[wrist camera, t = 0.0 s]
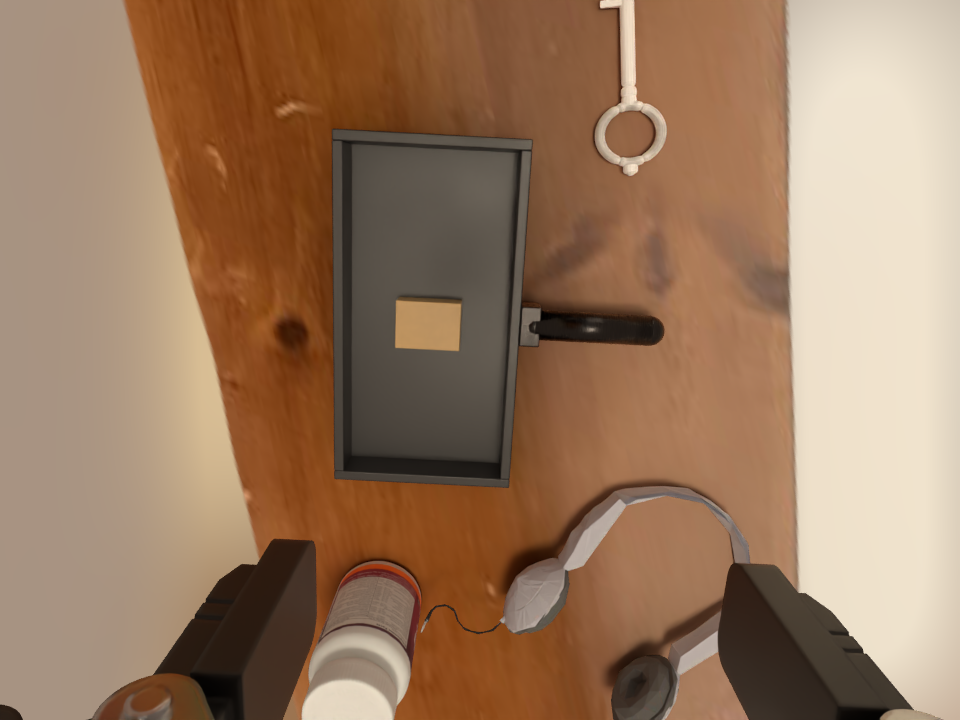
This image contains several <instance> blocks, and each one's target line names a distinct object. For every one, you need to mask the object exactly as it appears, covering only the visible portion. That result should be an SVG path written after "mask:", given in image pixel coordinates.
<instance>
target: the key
mask: <svg viewBox="0 0 960 720" xmlns="http://www.w3.org/2000/svg"><path fill="white" fill-rule="evenodd" d="M601 8H620V50H621V85H622V86H623V88H622V89H621V97H622V99H621V103H619V104H618V105H617V106H614V107H612V108H610V109H609V110H607V111H606V112H605V113H604V114H603V115H602V117H601V118H600V120H599V122H598V123H597V126H596V130H595V144H596V147H597V149H598V151H599V153H600V154H601V155H602V156H603V157H604V158H605V159H606V160H607V161H609V162H610V163H613V164H619V166H623V173H624V174H627V175H628V176H633V175H634V174H635V173H637V172H638V165H641V164H643V163H644V162H647V161H649V160H651V159H652V158H653V157H655V156H656V155H657V154H658V153H659V151H660V150H661V149H662V147H663V145H664V143H665V140H666V135H667V127H666V123H665V120H664V118H663V116H662V114H661V113H660V112H659V111H658V110H657V109H656V108H655V107H653V106H652V105H650V104H646V103H645V104H643V102H641V101H637V98H636V95H637V89H636V87H635V86H634V85H635V84H636V60H635V19H634V0H604V1H600V9H601ZM639 110H641V112H642V113H644V114H646V115H647V116H649V117H650V118H651V120H652V121H653V123H654V125H655V129H656V137H655V140H654V143H653V144H652V146H651V147H650V149H649V150H647V151H646V152H645V153H644V154H643V155H642V156H637V157H632V158H626V157H622V158H620V156H618V155H616V154H615V153H613V152H612V151H611V150H610V149H609V147H608V146H607V143H606V141H605V131H606V127H607V125H608V123H609V122H610V121H611V120H612V119H613V118H614V117H615V116H616V115H618V113H619V112H621V113H622V112H625V111H639Z"/></svg>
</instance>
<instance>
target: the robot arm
mask: <svg viewBox="0 0 960 720" xmlns="http://www.w3.org/2000/svg"><path fill="white" fill-rule="evenodd" d="M316 615H317V601H316V549H315V544H314V542H313V541H309V540H289V539H273V540H272V541H271V543H270V544H269V546H268V548H267V549H266V551H265V552H264V554H263V556H262V557H261V559H260V560H259V562H258V564H257V565H249V564H241V565H240V566H238V567H237V568H235V569H234V570H233V571H231V572H230V573H228V574H227V575H225V576H224V577H223V578H221V579H220V580H219V581H218V583H217V584H216V585H215V587H214V588H213V590H212V591H211V592H210V594H209V595H208V597H207V598H206V602H205V603H203V604H202V605H201V607H200V608H199V610H198V611H197V613H196V614H195V618H194V619H192V620H191V621H190V623H189V624H188V626H187V627H186V628H185V630H184V631H183V633H182V634H181V636H180V637H179V638H178V640H177V641H176V643H175V644H174V646H173V647H172V649H171V650H170V651H169V653H168V655H167V656H166V657H165V659H164V660H163V662H162V663H161V664H160V666H159V667H158V669H157V670H156V672H155V673H154V674H153V675H152V676H148V677H145V678H141V679H139V680H136V681H134V682H131V683H129V684H128V685H126V686H124V687H122V688H120V689H119V690H117V691H116V692H114V693H113V694H112V695H111V696H109V697H108V698H107V699H106V700H105V701H104V702H103V703H102V704H101V705H100V706H99V708H98V709H97V711H96V712H95V714H94V716H93V718H92V719H89V720H283V717H284V715H285V712H286V709H287V707H288V704H289V702H290V699H291V697H292V694H293V691H294V689H295V686H296V684H297V681H298V678H299V676H300V673H301V671H302V668H303V666H304V663H305V660H306V658H307V655H308V653H309V650H310V647H311V644H312V641H313V637H314V632H315V625H316ZM718 652H719V657H720V661H721V664H722V667H723V669H724V671H725V673H726V675H727V677H728V679H729V681H730V683H731V685H732V687H733V689H734V691H735V693H736V695H737V697H738V699H739V701H740V703H741V705H742V707H743V709H744V711H745V713H746V715H747V717H748V719H749V720H942V719H940V718H938V717H935V716H932V715H930V714H927V713H923V712H919V711H915V710H914V709H913V708H912V707H911V706H910V705H909V703H907V701H906V700H905V699H904V697H903V696H902V695H901V694H900V693H899V692H898V691H897V689H896V688H895V687H894V686H893V684H892V683H891V682H890V681H889V680H888V678H887V677H886V676H885V675H884V674H883V672H882V671H881V670H880V669H879V668H878V666H877V665H876V664H875V663H874V662H873V660H872V659H871V658H870V657H869V656H868V655H867V654H864V653H863V649H862V647H861V646H860V645H859V644H858V643H857V641H856V640H855V639H854V638H853V637H852V636H849V632H848V631H847V629H846V628H845V627H844V626H843V625H842V623H841V622H840V621H839V620H838V619H837V618H836V616H835V615H834V614H833V613H832V612H831V611H830V610H828V609H827V608H826V607H824V606H823V605H821V604H820V603H819V602H817V601H816V600H814V599H813V598H812V597H810V596H809V595H807V594H806V593H798V592H797V591H796V590H795V588H794V587H793V586H792V584H791V583H790V582H789V581H788V579H787V578H786V577H785V576H784V574H783V573H782V572H781V571H780V569H779V568H778V567H777V566H775V565H768V564H748V563H734V564H732V565H731V567H730V568H729V571H728V576H727V581H726V587H725V593H724V599H723V605H722V611H721V616H720V622H719V628H718ZM0 720H23V719H22V717H21V715H20V713H19V712H18V711H17V710H16V709H14V708H12V707H9V706H5V705H0Z"/></svg>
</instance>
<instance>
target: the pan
mask: <svg viewBox="0 0 960 720" xmlns="http://www.w3.org/2000/svg"><path fill="white" fill-rule="evenodd" d="M532 145H533V140H532V139H515V138H497V137H478V136H460V135H441V134H422V133H404V132H385V131H367V130H348V129H332V206H333V345H334V469H335V471H334V478H335V479H345V480H365V481H385V482H405V483H424V484H444V485H464V486H484V487H503V488H508V487H509V478H510V464H511V450H512V435H513V421H514V406H515V392H516V377H517V363H518V348H519V334H520V319H521V305H522V290H523V276H524V261H525V247H526V232H527V217H528V203H529V188H530V174H531V159H532ZM399 297H415V298H434V299H453V300H462V316H461V338H460V349H459V351H445V350H426V349H406V348H395V324H396V300H397V299H398V298H399Z"/></svg>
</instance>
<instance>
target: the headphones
mask: <svg viewBox="0 0 960 720" xmlns="http://www.w3.org/2000/svg"><path fill="white" fill-rule="evenodd" d="M664 496H671V497H676V498H681V499H686V500H691V501H696V502H701V503H704V504H705V505H706V506H707V507H708V508H709V509H710V510H711V512H712V513H713V514H714V515H715V516H716V517H717V519H718V520H719V521H720V522H721V523H722V524H723V526H724V527H725V528H726V529H727V530H728V531H729V533H730V535H731V541H732V547H733V553H734V559H735V563H748V564H750V557H749V545H748V543H747V542H746V540H745V538H744V537H743V535H742V534H741V532H740V531H739V529H738V528H737V526H736V525H735V523H734V522H733V521H732V519H731V518H730V516H729V515H728V514H726V513H725V512H724V511H723V510H722V509H720V508H719V507H718V506H717V505H715V504H714V503H713V502H712V501H710V500H709V499H707V498H705V497H703V496H701V495H699V494H697V493H695V492H694V491H692V490H691V489H689V488H682V487H669V486H654V487H636V488H626V489H621V490H618V491H614V492H613V493H612V494H611V495H610V496H609V497H608V498H607V499H605V500H604V501H603V502H602V503H600V504H598V505H597V506H595V507H594V508H593V509H592V510H591V511H590V512H589V513H588V514H586V515H585V516H584V518H583V519H582V521H581V523H580V524H579V525H578V526H577V527H576V528H575V529H574V530H573V531H572V532H571V533H570V536H569V538H568V540H567V542H566V544H565V547H564V549H563V550H562V552H561V553H560V555H559V556H558V558H559V559H557V558H549V559H546V560H543V561H540V562H536V563H534V564H532V565H530V566H528V567H527V568H526V569H524V570H523V571H522V572H521V573H519V574H518V575H517V576H516V577H515V579H514V581H513V583H512V585H511V586H510V589H509V591H508V593H507V596H506V599H505V605H504V610H503V613H504V615H503V618H502V619H501V620H500V621H501V622H502V623H503V624H504V622H505V625H506V626H507V627H508V629H509V631H510V632H512V633H515V634H519V635H520V634H522V633H525V632H527V633H532V632H536V631H539V630H542V629H543V628H544V627H546V626H547V625H548V624H550V623H551V622H552V621H553V620H554V618H555V617H556V616H557V614H558V613H559V612H560V610H561V609H562V608H563V606H564V605H565V603H566V598H567V593H568V588H569V577H568V571H570V570H573V569H576V568H579V567H581V566H583V565H584V564H585V562H586V561H587V560H588V558H589V557H590V556H591V554H592V553H593V551H594V550H595V549H596V547H597V546H598V544H599V543H600V542H601V540H602V539H603V538H604V536H605V535H606V533H607V532H608V531H609V529H610V528H611V526H612V525H613V524H614V522H615V521H616V520H617V518H618V517H619V515H620V514H621V513H622V511H623V510H624V508H625V507H626V506H627V505H631V504H635V503H639V502H643V501H647V500H651V499H655V498H659V497H664ZM442 606H447V607H448V608H450V609H451V610H453V611H454V613H455V616H456V619H457V621H458V618H457V615H456V611H455V610H454V609H453V608H451V607H450V606H448V605H445V604H444V605H438V606H435V607H434V608H433V609H432V610H430V612H429V614H428V616H427V617H426V619H425V622H424V625H423V627H422V629H421V632H422V631H423V629H424V627H425V624H426V622H428V621H429V618H430V616H431V613H432V611H433V610H434V609H435V608H436V607H442ZM721 611H722V610H721ZM721 611H719V612H718V613H717V614H715V615H714V616H713V617H711V618H710V619H709V620H707V621H706V622H705V623H703V624H702V625H701V626H699V627H698V628H697V629H695V630H694V631H692V632H691V633H689V634H687V635H686V636H684V637H682V638H681V639H679V640H677V641H676V642H674V643H672V644H671V649H670V653H669V657H668V659H667V658H665V657H662V656H660V655H649V656H645V657H640V658H636V659H635V660H634V661H632V662H631V663H630V664H629V665H627V666H626V667H625V668H623V669H622V670H621V671H620V672H619V673H618V676H617V679H616V682H615V685H614V688H613V692H612V699H611V703H612V712H613V719H614V720H665V719H666V718H667V716H668V715H669V713H670V712H671V709H672V706H673V705H674V703H675V701H676V697H677V693H678V690H679V688H678V687H679V678H680V675H681V674H683V673H684V672H686V671H687V670H689V669H691V668H692V667H694V666H695V665H697V664H699V663H700V662H702V661H704V660H705V659H707V658H708V657H710V656H712V655H713V654H715V653H717V652H718V628H719V622H720V616H721ZM458 622H459V621H458ZM501 622H500V623H501ZM500 623H499V624H500ZM459 624H460V625H461V623H460V622H459ZM499 624H498V625H499ZM498 625H497V626H498ZM461 626H462V625H461ZM497 626H495V627H494V628H493V629H492V630H489V631H485V632H475V631H471V630H468V629H466V628H464V627H463V626H462V627H463V629H464V630H466V631H470V632H473V633H477V634H481V633H486V632H490V631H494V630H495V629H496V628H497ZM668 660H669V661H668Z"/></svg>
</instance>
